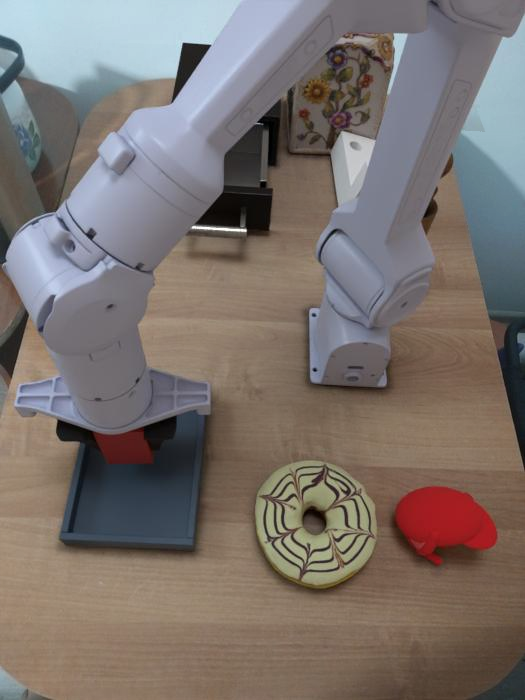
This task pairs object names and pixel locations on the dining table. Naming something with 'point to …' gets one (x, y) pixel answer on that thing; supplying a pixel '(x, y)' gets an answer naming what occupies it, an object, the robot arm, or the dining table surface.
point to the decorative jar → (341, 93)
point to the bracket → (350, 164)
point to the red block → (125, 447)
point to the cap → (444, 521)
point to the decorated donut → (340, 514)
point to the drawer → (241, 190)
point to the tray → (138, 495)
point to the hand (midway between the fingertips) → (131, 440)
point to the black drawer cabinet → (187, 66)
